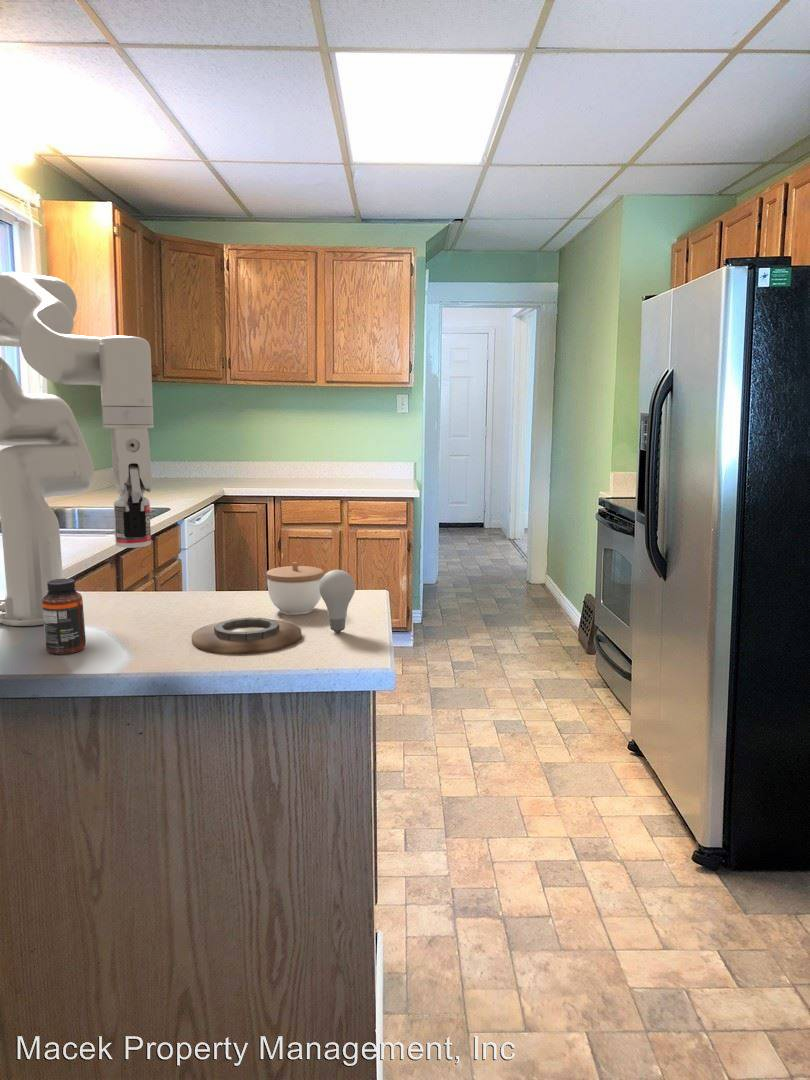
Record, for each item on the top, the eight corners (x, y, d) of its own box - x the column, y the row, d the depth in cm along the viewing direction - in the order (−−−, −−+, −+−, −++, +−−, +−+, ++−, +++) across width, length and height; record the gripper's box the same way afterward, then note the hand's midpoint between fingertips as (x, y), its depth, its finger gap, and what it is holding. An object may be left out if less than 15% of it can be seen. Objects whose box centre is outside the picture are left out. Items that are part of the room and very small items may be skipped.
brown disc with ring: (203, 659, 127) (202, 645, 127) (183, 631, 143) (182, 618, 143) (315, 645, 134) (315, 632, 134) (284, 620, 151) (284, 608, 150)
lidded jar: (335, 610, 158) (335, 562, 156) (291, 621, 150) (290, 570, 149) (300, 601, 165) (299, 555, 164) (256, 611, 157) (254, 562, 156)
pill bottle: (155, 546, 131) (153, 484, 129) (120, 549, 128) (118, 486, 126) (145, 541, 135) (143, 481, 133) (111, 544, 132) (108, 483, 131)
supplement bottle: (74, 642, 136) (69, 575, 134) (93, 649, 132) (89, 580, 131) (38, 651, 132) (33, 581, 130) (57, 658, 128) (52, 586, 126)
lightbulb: (323, 638, 138) (322, 574, 137) (316, 629, 144) (315, 567, 143) (359, 636, 140) (358, 572, 138) (351, 626, 146) (350, 565, 144)
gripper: (161, 419, 122) (165, 541, 125) (146, 417, 137) (150, 525, 140) (107, 419, 119) (113, 544, 122) (98, 417, 134) (103, 527, 137)
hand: (132, 532), depth 131 cm, fingers closed on pill bottle, 5 cm apart
